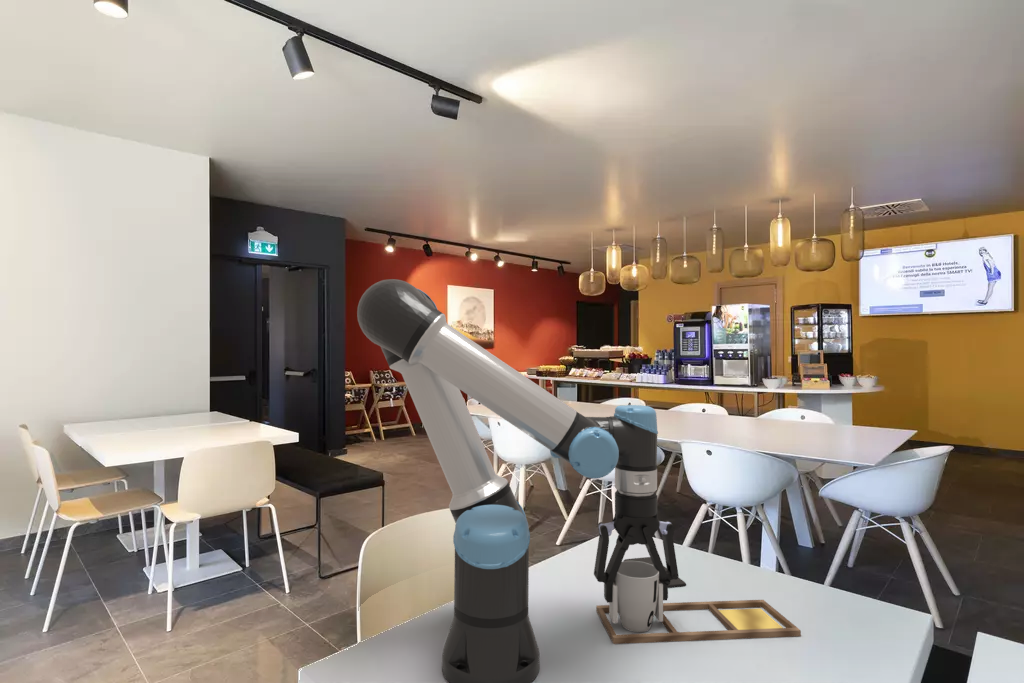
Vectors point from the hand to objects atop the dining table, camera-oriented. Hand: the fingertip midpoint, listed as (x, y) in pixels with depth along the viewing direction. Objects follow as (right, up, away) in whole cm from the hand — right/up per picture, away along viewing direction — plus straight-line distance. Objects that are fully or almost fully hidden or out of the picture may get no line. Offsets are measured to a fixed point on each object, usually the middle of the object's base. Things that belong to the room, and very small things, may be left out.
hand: (635, 618), depth 99 cm
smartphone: (+9, -2, +24) cm, 26 cm away
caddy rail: (+11, -1, +1) cm, 11 cm away
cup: (0, -1, 0) cm, 1 cm away
